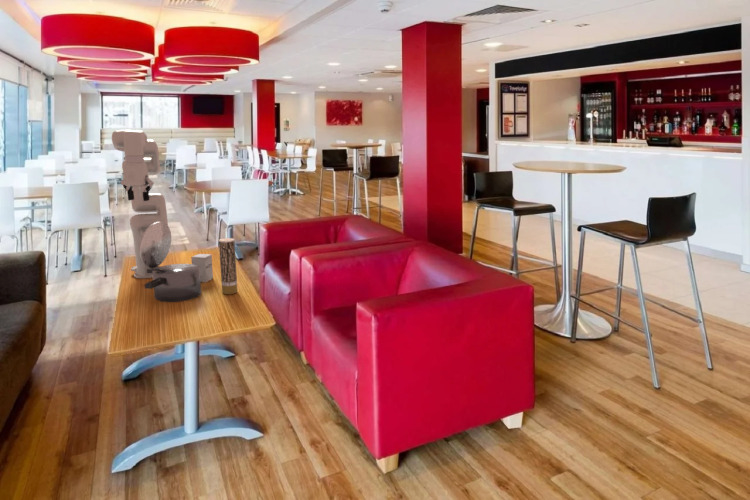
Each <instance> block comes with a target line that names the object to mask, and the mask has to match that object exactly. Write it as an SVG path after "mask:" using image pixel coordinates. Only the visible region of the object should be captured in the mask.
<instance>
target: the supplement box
mask: <svg viewBox="0 0 750 500" xmlns="http://www.w3.org/2000/svg"><path fill="white" fill-rule="evenodd" d="M212 257H213V256H212V254H211V253H210V254H209V253H208V254H207V253H197V254H195V255H193V256H192V257H191V264H193V265H197V266H199V269H200V282H201V283H207V282H209V281H211V280H212V279H214V274H213V273H214V271H213V259H212Z"/></svg>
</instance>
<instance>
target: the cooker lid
mask: <svg viewBox="0 0 750 500" xmlns="http://www.w3.org/2000/svg"><path fill="white" fill-rule="evenodd" d="M171 232H172V231H171V229H170V226H169V224H168V225H167V224H165V223H162V222H155V223H153V224H151V225H150V226H149V227H148V228H147V229H146V230H145V232H144V234H143V236H142V238H141V241H140V245H139V257H140V261H141V263H142V264H143V265H144V266H146V267H149V268H155V267H157V266H160V265H162V263H163V262H164V261H165V259H166V258H167V257H168V255H169V252H170V249H171V245H172V233H171Z"/></svg>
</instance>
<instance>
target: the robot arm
mask: <svg viewBox="0 0 750 500" xmlns="http://www.w3.org/2000/svg"><path fill="white" fill-rule="evenodd" d="M111 142H112V145H113V147H114V149H115V150H117V151H119V152H124V156H123V161H122V164H121V169H122V172H123V179H122V180H121V181H120V185H122V186H123V188H124V190H125V191H126V192H127V199H128V201H131V202H130V203H131V209H132V210H133V211H134V212H135V213H137V214H134V215H132V216H131V217H130V219H129V226H130V230H131V234H132V239H133V247H134V255H135V256H134V257H135V258H134V259H135V266H131V268H130V271H131V272H134V273H133V277H134V278H135V279H140V280H141V279H153V275H152V274H150V273H147V269H149V267H146V266H144V265H143V264H142V263H141V261H140V257H139V245H140V241H141V238H142V236H143V234H144V232H145V230H146V229H147V228H148V227H149V226H150V225H151V224H153V223H155V222H162V223H165V224H167V225H168V226H169V223H168V213H167V212H168V211H167V205H166V203H167V202H166V198H165V196H164V195H163V194H162V193H158V192H157V193H156V192H155V193H153V192H152V193H150V191H151V189H152V187H153V186H154V184H155V182H154V181H153V180H152V179H151V178H150V176H154V175H155V176H156V175H158V174H159V173H160V172H161V168H160V167H161V165H160V163H161V162H160V153H159V147H158V144H157V142H156V141H155V140H153V139H148V135H147V134H146V133H145V131H143V130H140V129H139V130H138V129H136V130H135V129H133V130H132V129H125V130H124V129H119V130H114V131H113V132H112V134H111Z"/></svg>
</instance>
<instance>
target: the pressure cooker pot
mask: <svg viewBox="0 0 750 500" xmlns="http://www.w3.org/2000/svg"><path fill="white" fill-rule="evenodd" d="M147 273H150V274H152V275H153V278H152V280H151V281H148V282H146V283H144V289H148V290H152V289H153V294H154V299H155V300H156V301H159V302H163V303H177V302H185V301H190V300H192V299H196V298H198V297H200V296H201V295H202V284H201V283H202V282H200V269H199V266H197V265H193V264H192V263H173V264H167V265H162V266H160V265H159V266H157V267H155V268H149V269H147Z"/></svg>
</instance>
